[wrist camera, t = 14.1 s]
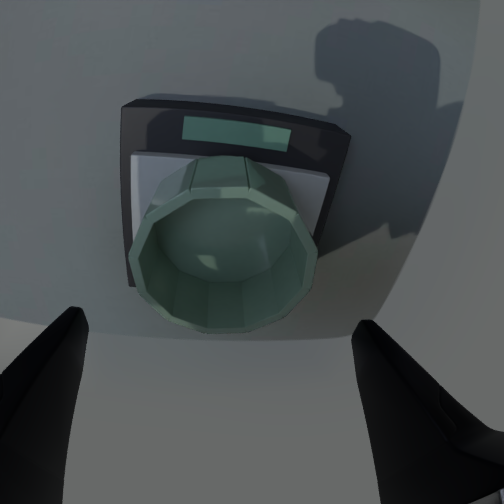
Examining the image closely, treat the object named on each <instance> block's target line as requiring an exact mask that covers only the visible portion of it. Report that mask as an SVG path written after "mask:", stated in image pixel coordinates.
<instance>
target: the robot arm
mask: <svg viewBox="0 0 504 504" xmlns="http://www.w3.org/2000/svg"><path fill="white" fill-rule="evenodd" d="M88 332H89V326H88V322H87V319H86V317H85V314H84V311H83V309H82V308H80V307H74V306H71V307H69V308H68V309H67V310H65V311H64V312H63V313H62V314H61V315H60V316H59V317H58V318H57V319H56V320H55V321H54V322H52V323H51V324H50V325H49V326H48V327H47V328H46V329H45V330H44V331H43V332H42V333H41V334H40V335H39V336H38V337H37V338H36V339H35V340H34V341H33V342H32V343H31V344H29V345H28V347H26V348H25V349H24V351H22V353H20V354H19V356H17V357H16V358H15V359H14V361H13V362H12V363H11V364H10V365H9V366H8V367H7V368H6V369H5V370H4V371H3V372H2V374H0V504H62V499H63V486H64V474H65V465H66V457H67V449H68V443H69V436H70V431H71V425H72V419H73V414H74V409H75V404H76V399H77V394H78V390H79V385H80V381H81V376H82V371H83V365H84V357H85V350H86V344H87V338H88ZM351 341H352V349H353V356H354V364H355V371H356V378H357V383H358V388H359V392H360V396H361V401H362V405H363V410H364V414H365V419H366V423H367V428H368V433H369V438H370V443H371V448H372V453H373V458H374V464H375V470H376V475H377V480H378V487H379V495H380V501H381V504H504V432H501V431H496V430H493V429H491V428H489V427H487V426H486V425H485V424H484V423H482V422H481V421H480V420H479V419H477V418H476V417H475V416H474V415H473V414H471V413H470V412H469V411H468V410H467V409H466V408H464V407H463V406H462V405H461V404H460V403H459V402H457V401H456V400H455V399H454V398H453V397H452V396H451V395H450V394H449V393H448V392H447V391H446V390H445V389H444V388H443V387H442V386H440V385H439V383H438V382H437V381H436V380H435V379H434V378H433V377H432V376H431V375H430V374H428V372H426V370H424V368H422V367H421V366H420V365H419V364H418V363H417V362H416V361H415V360H414V359H413V358H412V357H411V356H410V355H409V354H408V353H407V352H406V351H405V350H404V349H403V348H402V347H401V346H399V344H398V343H397V342H395V341H394V340H393V339H392V338H391V337H390V336H389V335H388V334H387V333H386V332H385V331H384V330H383V329H382V328H381V327H380V326H378V325H377V324H376V323H375V322H374V321H373V320H361V321H360V322H359V323H358V325H357V327H356V329H355V331H354V333H353V335H352V339H351Z"/></svg>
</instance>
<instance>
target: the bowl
mask: <svg viewBox="0 0 504 504" xmlns="http://www.w3.org/2000/svg"><path fill="white" fill-rule="evenodd" d="M128 255H129V257H128V259H129V263H130V266H131V270H132V274H133V277H134V281H135V284H136V288H137V291H138V293H139V295H140V296H141V297H142V298H143V299H144V300H145V301H146V302H147V303H149V304H150V305H151V306H152V307H153V308H154V309H155V310H156V311H157V312H158V313H159V314H160V315H161V316H163V317H164V318H165V319H166V320H167V319H168V321H170V322H173V323H175V324H178V325H181V326H184V327H187V328H190V329H193V330H196V331H199V332H202V333H207V334H223V333H246V331H247V332H250V331H253V330H255V329H258V328H260V327H263V326H265V325H268V324H270V323H273V322H275V321H277V320H280V319H282V318H284V317H285V316H287V315H288V313H289V312H290V311H291V310H292V309H293V308H294V307H295V306H296V305H297V304H298V303H299V302H300V301H301V300H302V299H303V298H304V297H305V295H306V294H307V293H308V292H309V291H310V289H311V288H312V283H313V278H314V273H315V267H316V262H317V257H318V249H317V247H316V244H315V242H314V239H313V237H312V235H311V232H310V230H309V228H308V225H307V223H306V221H305V218H304V216H303V214H302V211H301V209H300V207H299V206H298V204H297V202H296V200H295V198H294V196H293V194H292V192H291V190H290V189H289V187H288V185H287V183H286V181H285V179H283V178H282V177H281V176H280V175H278V174H276V173H274V172H272V171H271V170H269V169H267V168H266V167H264V166H263V165H261V164H259V163H256V162H254V161H252V160H251V159H249V158H247V157H245V158H244V157H243V156H242V157H236V156H223V155H221V156H210V157H201V158H199V159H195V160H193V161H191V162H190V163H188V164H187V165H185V166H183V167H181V168H180V169H178V170H177V171H175V172H174V173H172V174H171V175H169V176H167V177H166V178H164V179H163V180H162V181H161V182H160V183H159V185H158V187H157V189H156V192H155V194H154V196H153V198H152V200H151V202H150V204H149V206H148V209H147V211H146V213H145V215H144V217H143V220H142V222H141V224H140V227H139V229H138V232H137V234H136V236H135V239H134V241H133V244H132V246H131V249H130V251H129V254H128Z"/></svg>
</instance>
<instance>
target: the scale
mask: <svg viewBox="0 0 504 504" xmlns="http://www.w3.org/2000/svg"><path fill="white" fill-rule="evenodd" d="M350 139H351V135H349V134H348V133H347V132H345V131H344V130H342V129H341V128H340V127H338V126H337V125H335V124H331V123H327V122H322V121H318V120H313V119H308V118H304V117H299V116H293V115H288V114H283V113H277V112H271V111H265V110H259V109H252V108H245V107H237V106H229V105H221V104H211V103H200V102H188V101H172V100H146V99H136V100H134V101H132V102H130V103H128V104H126V105H124V106H122V108H121V130H120V181H121V206H122V223H123V236H124V247H125V257H126V267H127V275H128V283H129V286H130V287H136V284H135V281H134V277H133V274H132V270H131V266H130V263H129V259H128V257H129V255H128V254H129V251H130V249H131V246H132V244H133V241H134V239H135V236H136V234H137V232H138V229H139V227H140V224H141V222H142V220H143V217H144V215H145V213H146V211H147V209H148V206H149V204H150V202H151V200H152V198H153V196H154V194H155V192H156V189H157V187H158V185H159V183H160V182H161V181H162V180H163V179H164V178H166V177H167V176H169V175H171V174H172V173H174V172H175V171H177V170H178V169H180V168H181V167H183V166H185V165H187V164H188V163H190V162H191V161H193V160H195V159H199V158H201V157H210V156H221V155H223V156H236V157H242V156H243V157H244V158H245V157H247V158H249V159H251V160H252V161H254V162H256V163H259V164H261V165H263V166H264V167H266V168H267V169H269V170H271V171H272V172H274V173H276V174H278V175H280V176H281V177H282V178H283V179H285V181H286V183H287V185H288V187H289V189H290V190H291V192H292V194H293V196H294V198H295V200H296V202H297V204H298V206H299V207H300V209H301V211H302V214H303V216H304V218H305V221H306V223H307V225H308V228H309V230H310V232H311V235H312V237H313V239H314V242H315V244H316V247H317V246H318V243H319V240H320V237H321V234H322V231H323V228H324V225H325V222H326V218H327V215H328V212H329V209H330V206H331V203H332V200H333V196H334V193H335V190H336V187H337V183H338V180H339V177H340V173H341V170H342V167H343V163H344V160H345V156H346V153H347V149H348V146H349V142H350Z"/></svg>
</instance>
